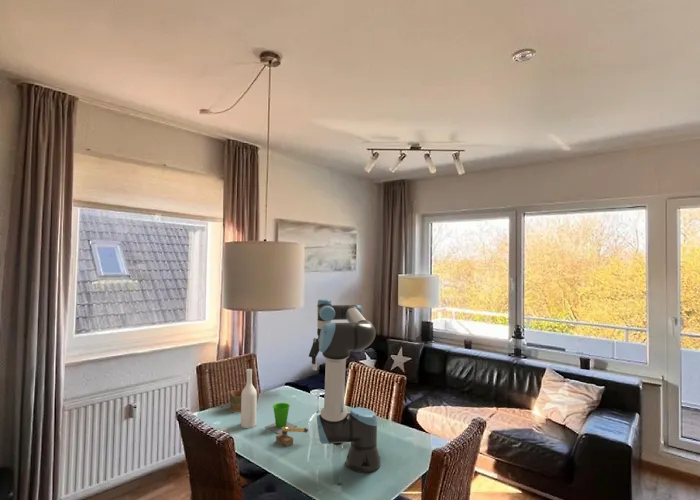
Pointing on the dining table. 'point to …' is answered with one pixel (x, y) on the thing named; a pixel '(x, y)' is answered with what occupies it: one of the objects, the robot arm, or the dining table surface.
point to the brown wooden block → (284, 439)
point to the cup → (281, 414)
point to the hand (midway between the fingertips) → (323, 367)
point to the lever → (293, 429)
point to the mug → (236, 401)
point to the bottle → (248, 403)
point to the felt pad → (278, 430)
